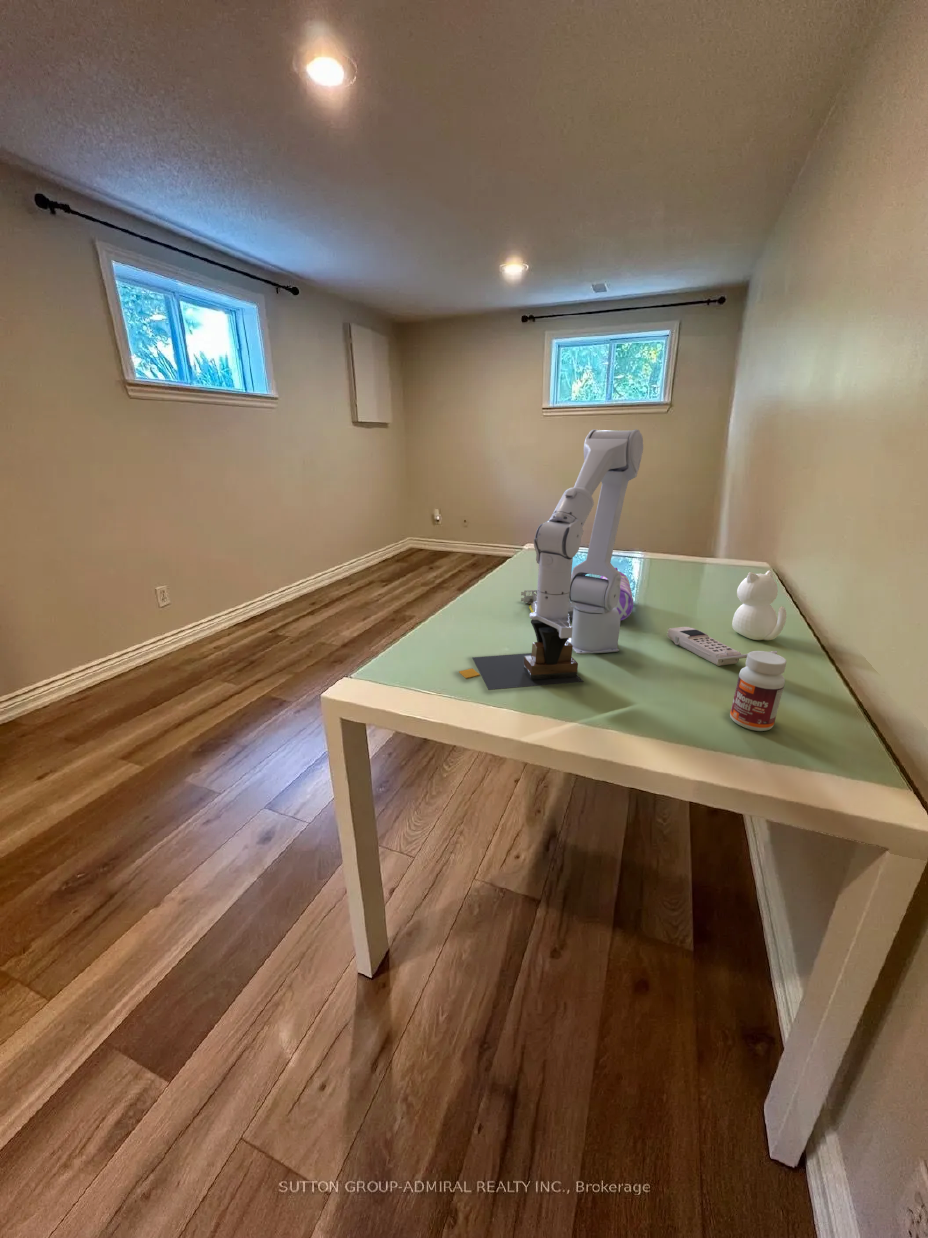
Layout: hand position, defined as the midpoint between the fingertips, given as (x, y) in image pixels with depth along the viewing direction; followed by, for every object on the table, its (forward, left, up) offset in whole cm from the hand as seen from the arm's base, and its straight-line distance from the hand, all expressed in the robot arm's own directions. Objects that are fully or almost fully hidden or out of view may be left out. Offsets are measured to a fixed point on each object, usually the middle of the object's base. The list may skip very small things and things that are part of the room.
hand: (548, 659), depth 92 cm
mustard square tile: (+14, -3, -3) cm, 15 cm away
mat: (+3, -3, -3) cm, 6 cm away
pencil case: (-31, -34, -3) cm, 46 cm away
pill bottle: (-27, +21, -3) cm, 34 cm away
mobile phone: (-37, -3, -3) cm, 37 cm away
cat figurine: (-55, -11, -3) cm, 56 cm away
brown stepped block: (-1, 0, -3) cm, 3 cm away
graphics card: (-14, -36, -3) cm, 38 cm away
